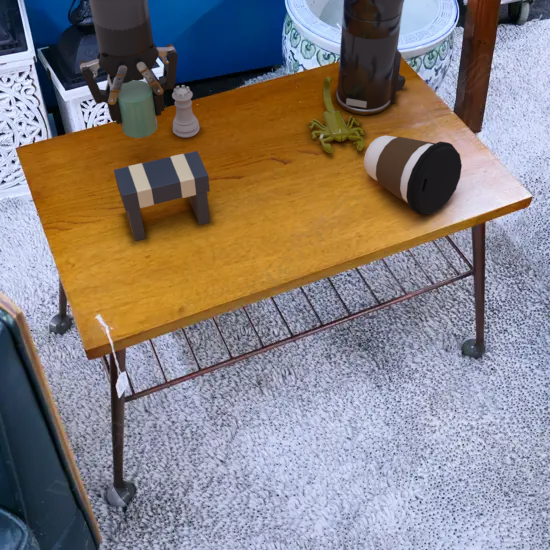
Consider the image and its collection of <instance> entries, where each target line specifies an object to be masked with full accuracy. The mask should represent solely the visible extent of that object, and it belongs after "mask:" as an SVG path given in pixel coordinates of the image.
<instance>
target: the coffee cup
mask: <svg viewBox="0 0 550 550" xmlns="http://www.w3.org/2000/svg"><path fill="white" fill-rule="evenodd" d="M461 159H462V158H461V154H460V153H459V152H458V150H457V149H456V148H455V146H454V145H453V144H452V143H450V142H447V141H438V142H430V141H425V140H420V139H414V138H411V137H410V138H409V137H405V136H404V137H403V136H392V135H381V136H378V137H376V138H375V139H374V140H373V141H372V142H370V144H369V146H368V147H367V148H366V151H365V155H364V158H363V166H364V170H365V172H366V173H367V175H369V176H370V177H371V178H372V179H373V180H374V181H376V182H377V183H378V184H379V185H380V186H381V187H383V189H385V190H386V191H388V192H390V193H391V194H393V195H394V196H395V197H397V198H398V199H399V200H401V201H402V202H404V203H406V204H407V205H408V208H409V209H410V210H411V211H412V212H413V213H414V214H416V215H432V214H434V213H436V212H438V211H440V210H441V209H442V208H444V206H445V205H446V204H447V203H449V201H450V199H451V198H452V197H453V195H454V194H455V192H456V190H457V187H458V184H459V182H460V179H461V174H462V167H463V164H462V160H461Z"/></svg>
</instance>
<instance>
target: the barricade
mask: <svg viewBox="0 0 550 550" xmlns="http://www.w3.org/2000/svg"><path fill="white" fill-rule="evenodd" d="M207 171H208V170H207V169H206V167H205V164H204V163H203V160H202V158H201V155H200V153H199V151H198V150H195V151H190V152H186V153H180V154H175V155H171V156H169V157H164V158H160V159H155V160H150V161H146V162H141V163H136V164H132V165H128V166H124V167H120V168H115V169H113V172H114V177H115V182H116V186H117V189H118V192H119V196H120V199H121V202H122V205H123V208H124V211H125V216H126V218H127V221H128V225H129V228H130V230H131V234H132V237H133V241H135V242H137V241H141V240H145V239H146V232H145V227H144V222H143V218H142V212H141V209H143V208H147V207H151V206H152V207H153V206H154V205H158V204H162V203H166V202H171V201H175V200H179V199H185V198H188V200H189V203H190V205H191V207H192V210H193V212H194V215H195V217H196V220H197V222H198V225H199V226H202V225H206V224H210V223H211V217H210V207H209V198H208V197H209V195H208V193H209V192H210V191H211V189H210V179H209V177H210V176H209V173H208V172H207Z"/></svg>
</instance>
